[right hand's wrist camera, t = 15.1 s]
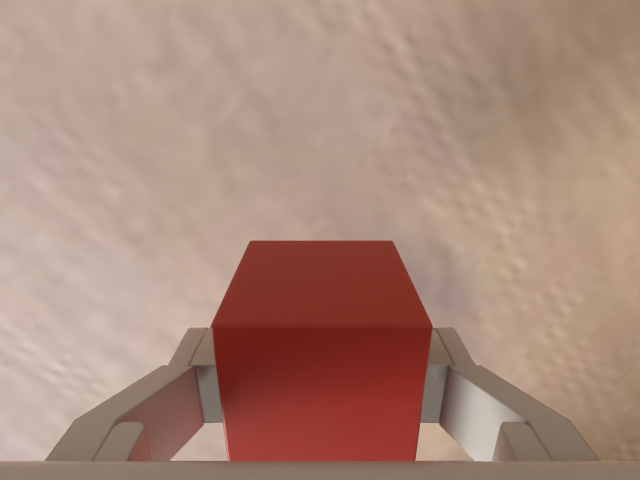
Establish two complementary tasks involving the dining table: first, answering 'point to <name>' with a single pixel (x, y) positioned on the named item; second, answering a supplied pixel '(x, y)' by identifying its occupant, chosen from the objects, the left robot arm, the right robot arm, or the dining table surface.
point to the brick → (321, 353)
